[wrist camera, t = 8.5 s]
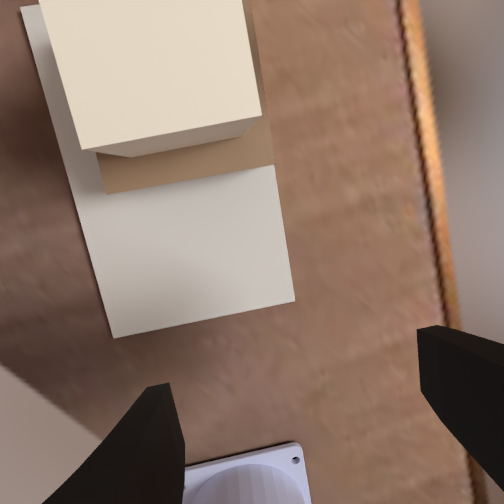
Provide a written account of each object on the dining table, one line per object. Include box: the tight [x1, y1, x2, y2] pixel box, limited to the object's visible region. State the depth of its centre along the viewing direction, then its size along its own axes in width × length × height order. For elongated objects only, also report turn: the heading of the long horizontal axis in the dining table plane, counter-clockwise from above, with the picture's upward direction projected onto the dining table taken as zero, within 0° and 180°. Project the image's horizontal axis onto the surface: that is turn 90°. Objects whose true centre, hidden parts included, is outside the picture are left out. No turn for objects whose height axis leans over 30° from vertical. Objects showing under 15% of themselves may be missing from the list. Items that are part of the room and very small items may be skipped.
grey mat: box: [20, 4, 295, 339], centre depth 19 cm, size 16×10×1 cm, turn 10°
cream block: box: [39, 0, 262, 158], centre depth 12 cm, size 4×4×6 cm
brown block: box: [96, 0, 276, 195], centre depth 16 cm, size 7×7×4 cm
